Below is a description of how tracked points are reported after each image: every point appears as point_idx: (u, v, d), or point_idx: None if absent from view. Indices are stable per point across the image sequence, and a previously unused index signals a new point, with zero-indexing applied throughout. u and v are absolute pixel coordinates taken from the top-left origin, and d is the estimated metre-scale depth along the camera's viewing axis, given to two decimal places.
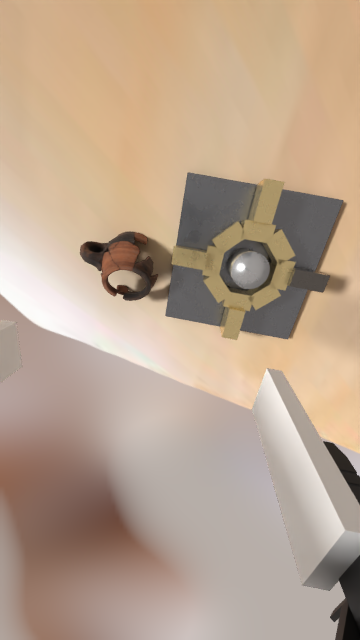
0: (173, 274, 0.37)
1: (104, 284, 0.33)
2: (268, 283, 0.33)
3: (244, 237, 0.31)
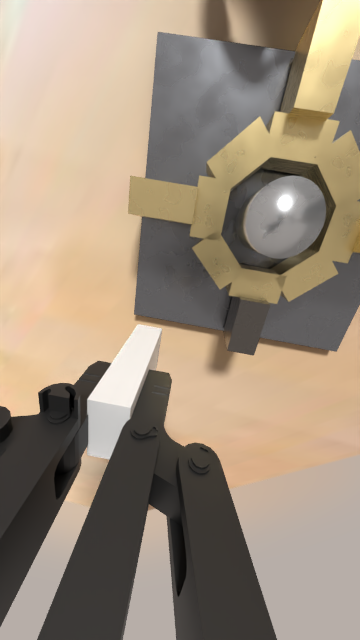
0: (260, 52, 0.16)
1: None
2: (240, 266, 0.19)
3: (339, 206, 0.16)
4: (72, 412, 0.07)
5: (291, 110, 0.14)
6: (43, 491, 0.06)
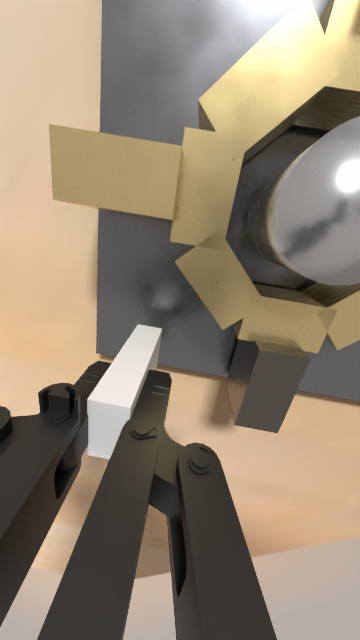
0: None
1: None
2: None
3: None
4: (72, 412, 0.07)
5: None
6: (43, 491, 0.06)
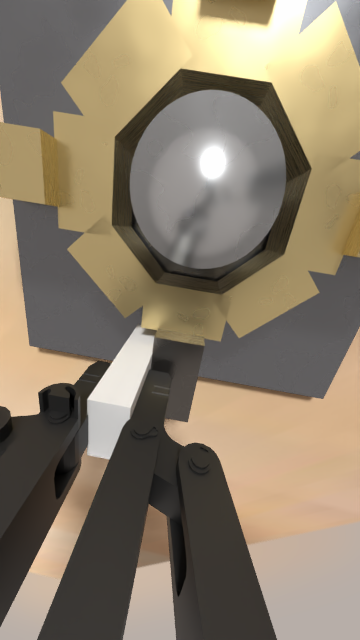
0: None
1: None
2: (157, 279, 0.11)
3: (317, 169, 0.08)
4: (72, 412, 0.07)
5: None
6: (43, 491, 0.06)
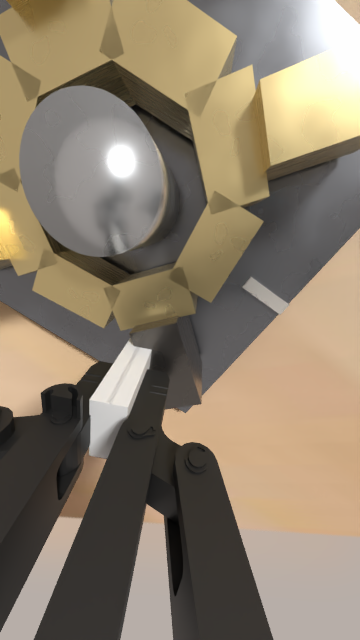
0: None
1: None
2: (115, 281, 0.12)
3: (193, 107, 0.08)
4: (74, 413, 0.07)
5: None
6: (45, 492, 0.06)
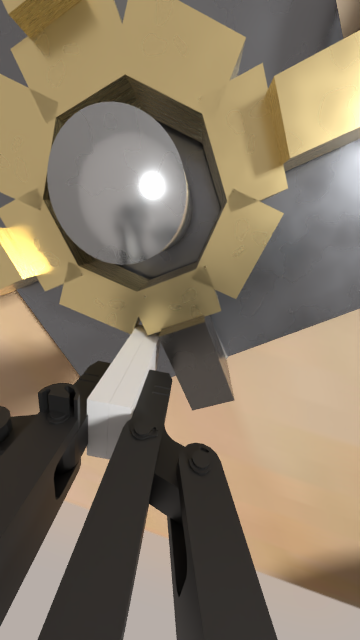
0: None
1: None
2: (139, 287, 0.12)
3: (207, 110, 0.08)
4: (72, 412, 0.07)
5: (19, 24, 0.08)
6: (43, 491, 0.06)
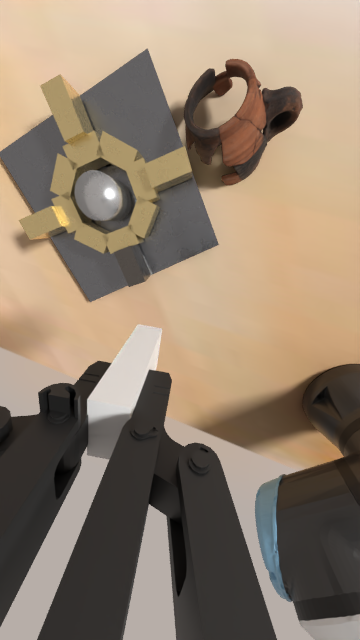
0: (174, 129, 0.27)
1: (248, 69, 0.21)
2: (107, 233, 0.29)
3: (127, 170, 0.26)
4: (72, 412, 0.07)
5: None
6: (43, 491, 0.06)
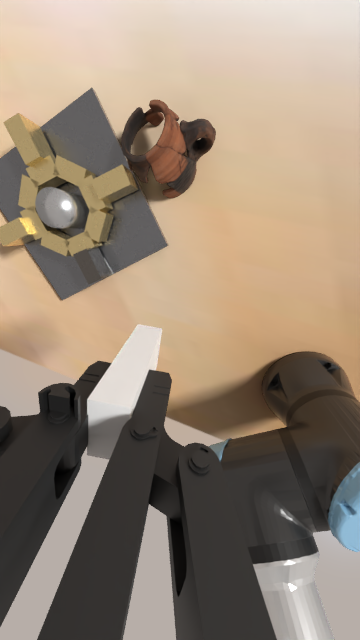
0: (119, 150, 0.32)
1: (164, 107, 0.26)
2: (68, 239, 0.34)
3: (79, 185, 0.31)
4: (72, 412, 0.07)
5: (28, 165, 0.30)
6: (43, 491, 0.06)
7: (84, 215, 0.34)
